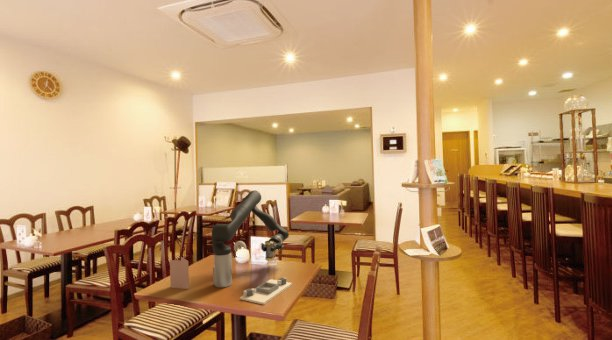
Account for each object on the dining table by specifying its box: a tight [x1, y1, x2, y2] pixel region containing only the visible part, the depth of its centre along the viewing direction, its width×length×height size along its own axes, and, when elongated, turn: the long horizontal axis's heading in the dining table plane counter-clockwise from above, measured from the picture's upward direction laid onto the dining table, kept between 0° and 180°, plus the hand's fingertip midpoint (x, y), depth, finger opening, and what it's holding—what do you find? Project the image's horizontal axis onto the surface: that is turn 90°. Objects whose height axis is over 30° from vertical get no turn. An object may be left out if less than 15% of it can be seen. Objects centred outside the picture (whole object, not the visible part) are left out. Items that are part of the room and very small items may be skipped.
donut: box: [233, 240, 247, 253], centre depth 224 cm, size 10×4×10 cm, turn 71°
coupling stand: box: [239, 277, 293, 306], centre depth 154 cm, size 14×26×4 cm, turn 152°
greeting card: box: [169, 256, 190, 290], centre depth 163 cm, size 11×7×15 cm, turn 41°
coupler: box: [264, 240, 275, 261], centre depth 170 cm, size 5×5×10 cm
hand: (268, 249), depth 167 cm, fingers closed on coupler, 4 cm apart
